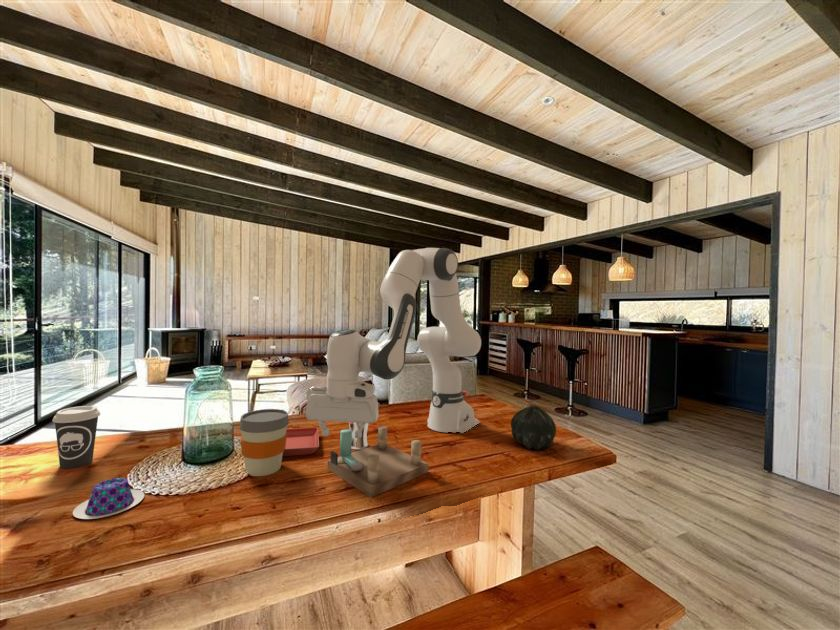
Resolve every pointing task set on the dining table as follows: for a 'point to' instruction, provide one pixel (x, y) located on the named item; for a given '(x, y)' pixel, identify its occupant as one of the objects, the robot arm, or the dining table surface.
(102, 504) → the purple patterned hat
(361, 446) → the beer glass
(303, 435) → the plant saucer
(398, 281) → the robot arm
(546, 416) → the squash
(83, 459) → the coffee cup
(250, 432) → the reusable coffee cup
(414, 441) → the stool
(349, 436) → the folding leg
